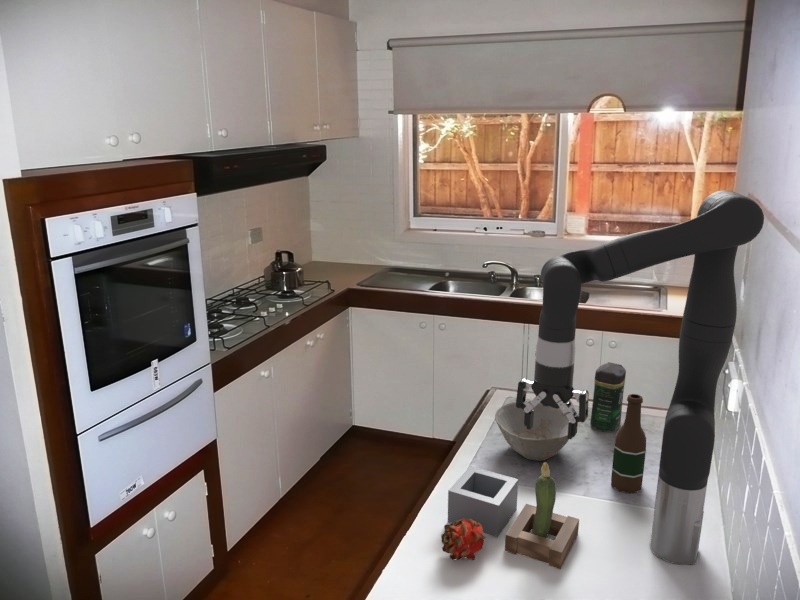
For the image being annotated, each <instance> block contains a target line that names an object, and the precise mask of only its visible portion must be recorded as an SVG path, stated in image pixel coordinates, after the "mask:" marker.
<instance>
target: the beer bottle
mask: <svg viewBox="0 0 800 600" xmlns="http://www.w3.org/2000/svg"><path fill="white" fill-rule="evenodd" d="M626 401H627V407H626V413H625V417H624V418H625V419H624V422H623V424H622V425H621V426H619V427H618V429H617V432H616V434H615V438H614V446H613V455H612V456H613V457H612V465H611V466H612V467H611V476H610V477H611V478H610V479H611V481H610V485H611V486H612V487H613V488H614V489H616V490H617V491H618V492H621V493H626V494H627V493H628V494H631V493H632V494H635V493H638V492H641V490H642V486H643V481H644V480H643V479H644V478H643V477H644V469H645V461H646V453H647V451H646V450H647V436H646V433H645V431H644V429H643V428H642V425H641V424H642V423H641V419H642V404H643V402H644V398H643V396H641V395H640V394H637V393H631V394H628V395H627V398H626ZM637 491H638V492H637Z"/></svg>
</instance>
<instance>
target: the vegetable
mask: <svg viewBox="0 0 800 600" xmlns="http://www.w3.org/2000/svg"><path fill="white" fill-rule="evenodd" d="M540 473H541V475H540V476H538V478H537V479H536V481H535V484H534V485H535V486H534V487H535V491H534V492H535V502H536V514H535V517H534V523H533V530H532V534H534V535H537V536H541V537H544V538H547V539H548V535H549V534H548V532H549V529H550V525H551V519H552V514H553V513H554V507H555V504H556V498H557V495H556V494H557V488H556V487H557V486H556V482H555V480H554V478H553V476H550V475H551V472H550V466H549V464H548V463H547V462H543V463H542V466H541V469H540Z"/></svg>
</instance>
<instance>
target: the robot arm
mask: <svg viewBox="0 0 800 600" xmlns="http://www.w3.org/2000/svg"><path fill="white" fill-rule="evenodd" d="M764 220H765V215H764V212H763V209H762V208H761V206H760V205H759V204H758V203H757V202H756V201H755V200H753V199H751V198H750V197H748V196H745V195H743V194H740V193H739V192H735V191H732V190H727V189H726V190H724V189H723V190H717V191H714V192H713V193H711V194H709V195H708V196H707V197H705V199H703V201H702V202H701V204H700V206H699V209H698V210H697V214H696V217H694V218H692V219H688V220H686V221H683V222H681V223H677V224H673V225H670V226H666V227H662V228H656V229H649V230H644V231H639V232H635V233H634V232H633V233H631V234H627V235H623V236H621V237H618V238H614V239H611V240H609V241H605V242H603V243H600V244H598V245H596V246H593V247H589V248H585V249H583V248H582V249H578V250H575V251H569V252H565V253H561V254H559V255H556V256H554V257H552V258H550V259H548V260H547V261H546V262H545V263H543V266H542V268H541V270H540V278H541V283H542V309H541V310H540V313H539V319H538V320H539V321H538V334H537V341H536V345H535V353H534V356H535V359H534V360H535V361H534V376H533V377H534V380H533V381H531V380H529V379H528V378H527V377H523V378H521V380H520V381H519V382H518V383H517V390H516V399H515V402H516V407H517V408H521V409H523V410H524V412H525V416H524V425H525V426H527V429H529V430H530V429H531V428H532V427H533V419H534V410H533V408H534V407H535V406H536V405H537V404H538V403H539V402H540V403H541V404H543V406H551V407H553V408H556V409H558V408H560V409H561V410H562V412H563V413H564V414H565V415H566V416H567V418H568V419H569V424H568V437H567V438H568V439H569V440H572V439H573V438H575V436H576V435H577V433H578V429H577V427H578V422H580V423H584V422H586V420H587V419H588V417H589V399H590V398H589V395H590V393H589V391H588V390H587V389H583V390H582V391H581V390H575V388H574V386H573V384H574V372H575V360H576V359H575V357H576V331H577V330H576V327H577V313H578V310H579V309H578V308H579V303H580V299H581V294H582V293H581V291H582V285H583V284H586V283H589V282H595V281H598V282H601V283H602V282H603V283H604V282H610V281H613V280H615V279H618V278H622V277H624V276H627V275H631V274H632V273H636V272H639V271H642V270H645V269H647V268H650V267H653V266H657V265H660V264H663V263H667V262H669V261H673V260H677V259H681V258H685V257H689V256H693V255H694V258H693V266H692V269H691V271H692V272H691V275H690V279H689V284H688V290H687V294H686V299H685V304H684V309H683V313H682V320H681V325H680V331H679V339H678V340H679V341H678V373H677V374H678V375H677V378H676V383H675V386H674V389H673V394H672V398H671V400H670V402H669V403H670V404H669V405H668V406H669V407H668V408H667V411H666V414H665V419H664V426H663V431H662V432H663V433H662V441H661V449H660V451H661V452H660V458H659V459H660V460H659V467H658V468H659V469H658V476H657V485H656V493H655V502H654V509H653V510H654V511H653V517H652V518H653V519H652V526H651V533H650V542H649V543H650V544H649V547H650V550H651V551H652V552H653V554H654V555H656V557H658V558H660V560H661V559H662V560H663V561H665V562H668V563H672V564H677V565H678V564H679V565H686V564H687V565H696V562H697V558H698V553H699V548H700V541H701V534H702V528H703V520H704V514H705V513H704V512H705V510H704V509H705V500H706V494H707V486H708V482H709V481H708V480H709V477H710V473H711V466H712V461H713V454H714V446H715V440H716V439H715V438H716V422H715V421H716V419H715V405H716V404H715V403H716V395H717V394H716V392H717V385H718V381H719V378H720V374H721V373H722V370H723V367H724V366H725V363H726V360H727V359H728V356H729V353H730V350H731V346H732V342H733V337H734V332H735V328H736V322H737V315H738V314H737V312H738V307H737V305H738V304H737V302H738V301H737V292H736V291H737V290H736V282H735V264H736V263H735V262H736V256H737V252H738V247H739V246H743V245H746V244H747V243H750V242H751V241H753V240H754V239H755V238H756V237H757V236H758V235H759V234H760V232H761V231H762V229H763V227H764V224H765V223H764V222H765V221H764ZM530 388H531V390H532V392H533V393H534V395H535V397H534V398H533V399H531V400H530V401H531V402H530V403H528V402H529V401H527V400H526V399H527V392H528V391H529V389H530ZM572 398H575V400H576V402H577V403H578V405H579V406H578V411H577V410H576V409H575V405H574V403H573V401H572ZM526 401H527V402H526Z"/></svg>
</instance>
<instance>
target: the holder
mask: <svg viewBox="0 0 800 600" xmlns="http://www.w3.org/2000/svg"><path fill="white" fill-rule="evenodd" d="M518 490H519V479H518V478H515V477H511V476H509V475H504V474H502V473H501V474H500V473H497V472H495V471H494V472H493V471H489V470H486V469H484V468H483V469H482V468H479V467H475V466H471V465H470V466H469V467H468V468H467V469H466V470H465V471H464V472H463V473H462V475H460V477H459V478H458V479H457V480H456V481H455V482H454V483H453V484H452V486H451V487H450V488H449V489H448V492H447V522H448V523H451V524H453V523H455V521H458V520H461V519H464V518H465V521H466V520H467V519H472V520H475V521H476V522H477V523H480V524H481V526H482V528H483V534H485V535H488V536H490V537H491V536H492V537H494V538H497V539H498V538H499V536H500V535H501V533H502V532H503V530H504V529H505V528H506V526H507V525H508V523H509V521H510V520H511V519H512V517H513V515H514V514H515V513H516V511H517V509H518V508H517V507H518V494H519V493H518Z"/></svg>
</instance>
